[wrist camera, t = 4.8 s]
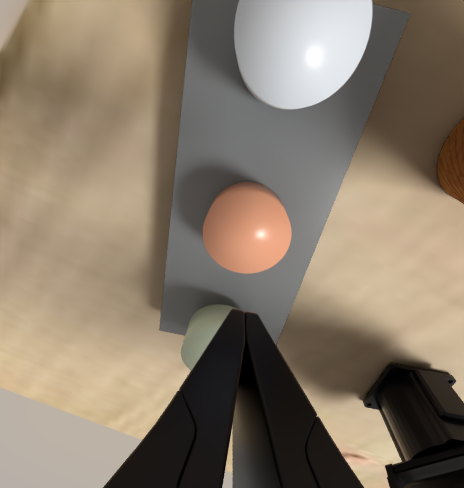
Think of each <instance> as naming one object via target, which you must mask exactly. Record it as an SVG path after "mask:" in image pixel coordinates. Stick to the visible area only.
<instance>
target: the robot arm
mask: <svg viewBox="0 0 464 488" xmlns="http://www.w3.org/2000/svg"><path fill="white" fill-rule="evenodd" d="M455 382H456V380H455V378H454V377H453V376H452V375H449V374H444V373H439V372H434V371H429V370H424V369H419V368H414V367H409V366H404V365H399V364H390V365H389V366H388V367H387V368H386V370H385V371H384V372H383V374H382V375H381V376H380V378H379V379H378V381H377V382H376V383H375V385H374V386H373V387H372V389H371V390H370V391H369V393H368V394H367V396H366V397H365V398H364V400H363V403H364V406H365V407H367V408H372V409H377V410H379V411H380V413H381V415H382V417H383V420H384V422H385V424H386V426H387V429H388V431H389V433H390V435H391V438H392V440H393V442H394V444H395V447H396V449H397V451H398V453H399V456H400V458H401V460H402V462H400V463H397V464H393V465H392V464H388V465H385V468H386V471H387V475H388V477H387V479H388V483H389V486H390V488H464V403H463V401H462V400H461V399H460V397H459V396H458V395H457V393H456V392H455V391H454V389H453V388H452V386H453V385H454V383H455ZM316 416H317V413H316V411H315V410H314V408H313V406H312V405H311V403H310V401H309V400H308V398H307V396H306V394H305V393H304V391H303V389H302V388H301V386H300V384H299V383H298V381H297V379H296V378H295V376H294V374H293V373H292V371H291V369H290V367H289V366H288V364H287V362H286V361H285V359H284V357H283V356H282V354H281V352H280V351H279V349H278V347H277V346H276V344H275V342H274V340H273V339H272V337H271V335H270V334H269V332H268V330H267V329H266V327H265V325H264V324H263V322H262V320H261V318H260V317H259V315H258V314H257V313H253V312H248V311H246V312H245V313H244V311H243V310H238V309H231V311H230V312H229V314H228V315H227V317H226V318H225V320H224V321H223V323H222V324H221V326H220V327H219V329H218V330H217V332H216V334H215V335H214V337H213V338H212V340H211V341H210V343H209V344H208V346H207V347H206V349H205V350H204V352H203V353H202V355H201V356H200V358H199V360H198V361H197V363H196V364H195V366H194V367H193V369H192V370H191V372H190V373H189V375H188V376H187V378H186V379H185V381H184V382H183V384H182V386H181V387H180V389H179V391H177V393H176V394H175V396H174V397H173V399H172V400H171V402H170V404H169V405H168V406H167V408H166V409H165V411H164V412H163V414H162V415H161V416H160V418H159V419H158V421H157V422H156V424H155V425H154V426H153V427H152V429H151V430H150V431H149V432H148V434H147V435H146V436H145V437H144V439H143V440H142V441H141V443H140V444H139V445H138V446H137V448H136V449H135V450H134V451H133V452H132V454H131V455H130V456H129V457H128V458H127V459H126V461H125V462H124V463H123V464H122V465H121V467H120V468H119V469H118V470H117V472H116V473H115V474H114V475H113V476H112V478H111V479H110V480H109V481H108V482H107V484H106V485H105V486H104V487H103V488H222V485H223V479H224V473H225V466H226V460H227V454H228V448H229V442H230V436H231V429H232V423H233V488H364V487H363V485H362V484H361V482H360V481H359V479H358V478H357V476H356V475H355V473H354V472H353V470H352V469H351V468H350V466H349V465H348V463H347V462H346V460H345V459H344V457H343V456H342V454H341V452H340V451H339V449H338V448H337V446H336V444H335V443H334V441H333V439H332V438H331V436H330V435H329V433H328V431H327V430H326V428H325V426H324V425H323V423H322V421H321V420H320V418H319V417H316Z"/></svg>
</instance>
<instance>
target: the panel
mask: <svg viewBox="0 0 464 488" xmlns="http://www.w3.org/2000/svg"><path fill="white" fill-rule="evenodd" d="M238 3H239V0H192V6H191V16H190V26H189V36H188V47H187V57H186V67H185V77H184V87H183V97H182V107H181V117H180V127H179V137H178V147H177V157H176V167H175V177H174V188H173V198H172V208H171V218H170V228H169V238H168V248H167V258H166V268H165V278H164V288H163V298H162V308H161V318H160V329H159V330H160V331H165V332H170V333H175V334H180V335H186V332H187V329H188V325H189V322H190V319H191V317H192V316H193V314H194V313H195V312H196V311H198V310H199V309H201V308H203V307H205V306H209V305H215V304H221V305H228V306H232V307H234V308H236V309H238V310H243V311H244V313H245V312H246V311H248V312H253V313H257V314H258V315H259V317H260V318H261V320H262V322H263V324H264V325H265V327H266V329H267V330H268V332H269V334H270V335H271V337H272V339H273V340H274V342H275V344H277V342H278V339H279V337H280V334H281V332H282V330H283V327H284V325H285V322H286V320H287V317H288V315H289V312H290V310H291V307H292V305H293V302H294V300H295V297H296V295H297V292H298V290H299V288H300V285H301V283H302V280H303V278H304V275H305V273H306V270H307V268H308V265H309V263H310V260H311V258H312V255H313V253H314V251H315V248H316V246H317V243H318V241H319V238H320V236H321V233H322V231H323V228H324V226H325V223H326V221H327V218H328V216H329V213H330V211H331V209H332V206H333V204H334V201H335V199H336V196H337V194H338V191H339V189H340V186H341V184H342V181H343V179H344V176H345V174H346V172H347V169H348V167H349V164H350V162H351V159H352V157H353V154H354V152H355V149H356V147H357V144H358V142H359V139H360V137H361V135H362V132H363V130H364V127H365V125H366V122H367V120H368V117H369V115H370V112H371V110H372V107H373V105H374V102H375V100H376V97H377V95H378V93H379V90H380V88H381V85H382V83H383V80H384V78H385V75H386V73H387V70H388V68H389V65H390V63H391V60H392V58H393V56H394V53H395V51H396V48H397V46H398V43H399V41H400V38H401V36H402V33H403V31H404V28H405V26H406V23H407V21H408V18H409V16H410V14H411V13H408V12H404V11H400V10H396V9H392V8H388V7H384V6H380V5H376V4H372V24H371V30H370V35H369V39H368V42H367V45H366V48H365V51H364V53H363V56H362V58H361V60H360V62H359V64H358V66H357V67H356V69H355V70H354V72H353V73H352V75H351V76H350V78H349V79H348V80H347V81H346V82H345V84H344V85H343V86H342V87H341V88H339V89H338V90H337V91H336V92H335V93H334V94H332V95H331V96H330V97H328V98H326V99H325V100H323V101H321V102H319V103H317V104H315V105H312V106H308V107H304V108H299V109H294V110H278V109H274V108H271V107H268V106H266V105H264V104H263V103H261V102H260V101H258V100H257V99H256V98H255V97H254V96H253V95H252V93H251V92H250V91H249V90H248V88H247V86H246V85H245V83H244V81H243V79H242V76H241V73H240V70H239V65H238V60H237V56H236V51H235V42H234V25H235V16H236V11H237V6H238ZM240 182H255V183H259V184H262V185H264V186H266V187H268V188H270V189H271V190H272V191H274V192H275V193H276V194H277V195H278V197H279V198H280V200H281V201H282V203H283V205H284V208H285V211H286V213H287V216H288V218H289V221H290V224H291V233H292V235H291V242H290V245H289V248H288V250H287V252H286V254H285V255H284V256H283V258H282V259H281V260H280V261H279V262H278V263H276V264H275V265H274V266H272V267H271V268H269V269H267V270H264V271H261V272H257V273H250V274H245V273H237V272H233V271H230V270H228V269H226V268H224V267H222V266H221V265H219V264H218V263H217V262H215V261H214V260H213V258H212V257H211V256H210V255H209V253H208V252H207V250H206V248H205V245H204V241H203V225H204V221H205V219H206V216H207V214H208V212H209V209H210V207H211V205H212V203H213V201H214V199H215V198H216V197H217V195H218V194H219V193H220V192H221V191H222V190H224V189H225V188H227V187H229V186H230V185H233V184H236V183H240Z"/></svg>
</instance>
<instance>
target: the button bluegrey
mask: <svg viewBox="0 0 464 488" xmlns="http://www.w3.org/2000/svg"><path fill="white" fill-rule="evenodd" d="M371 24H372V0H239V3H238V6H237V11H236V16H235V25H234V42H235V51H236V56H237V60H238V65H239V70H240V73H241V76H242V79H243V81H244V83H245V85H246V86H247V88H248V90H249V91H250V92H251V93H252V95H253V96H254V97H255V98H256V99H257V100H258V101H260V102H261V103H263V104H264V105H266V106H268V107H271V108H274V109H278V110H294V109H299V108H304V107H308V106H312V105H315V104H317V103H319V102H321V101H323V100H325V99H326V98H328V97H330V96H331V95H332V94H334V93H335V92H336V91H337V90H338V89H339V88H341V87H342V86H343V85H344V84H345V82H346V81H347V80H348V79H349V78H350V76H351V75H352V73H353V72H354V70H355V69H356V67H357V66H358V64H359V62H360V60H361V58H362V56H363V53H364V51H365V48H366V45H367V42H368V39H369V35H370V30H371Z"/></svg>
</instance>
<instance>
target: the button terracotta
mask: <svg viewBox="0 0 464 488" xmlns="http://www.w3.org/2000/svg"><path fill="white" fill-rule="evenodd" d="M291 235H292V233H291V224H290V221H289V218H288V216H287V213H286V211H285V208H284V205H283V203H282V201H281V200H280V198H279V197H278V195H277V194H276V193H275V192H274V191H272V190H271V189H270V188H268V187H266V186H264V185H262V184H259V183H255V182H240V183H236V184H233V185H230V186H229V187H227V188H225V189H224V190H222V191H221V192H220V193H219V194H218V195H217V197H216V198H215V199H214V201H213V203H212V205H211V207H210V209H209V212H208V214H207V216H206V219H205V221H204V225H203V241H204V245H205V248H206V250H207V252H208V253H209V255H210V256H211V257H212V258H213V260H214V261H215V262H217V263H218V264H219V265H221V266H222V267H224V268H226V269H228V270H230V271H233V272H237V273H245V274H250V273H257V272H261V271H264V270H267V269H269V268H271V267H272V266H274V265H275V264H276V263H278V262H279V261H280V260H281V259H282V258H283V256H284V255H285V254H286V252H287V250H288V248H289V245H290V242H291Z"/></svg>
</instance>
